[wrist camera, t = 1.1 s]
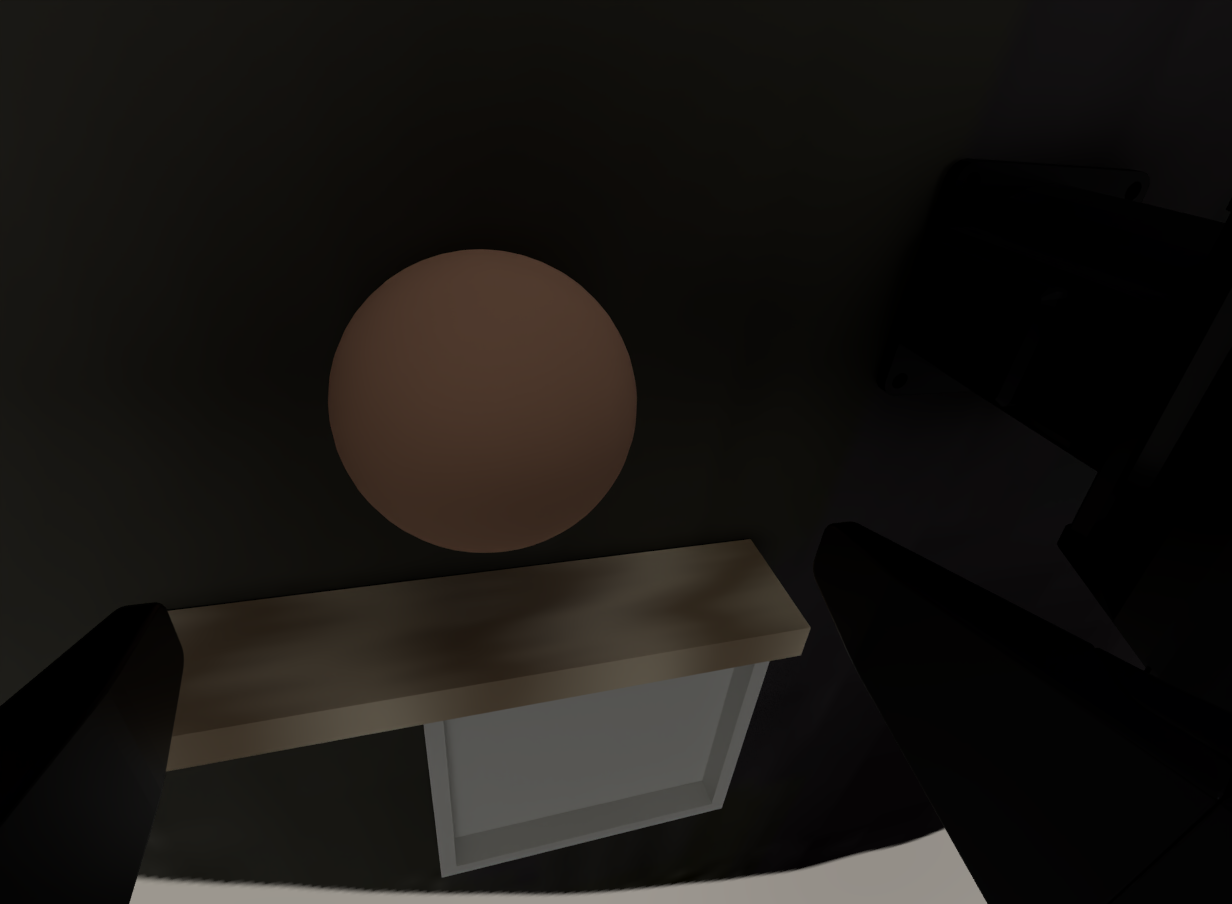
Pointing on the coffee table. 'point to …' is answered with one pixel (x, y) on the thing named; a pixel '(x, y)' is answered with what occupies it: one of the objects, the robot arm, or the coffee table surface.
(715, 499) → the coffee table surface
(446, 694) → the rail
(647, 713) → the coaster tray
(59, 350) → the coffee table surface
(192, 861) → the coffee table surface
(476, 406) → the ball
